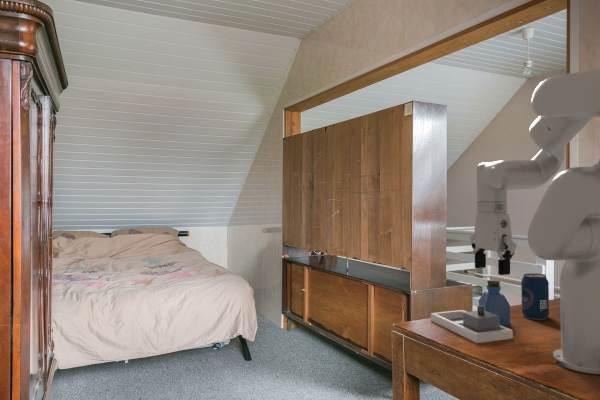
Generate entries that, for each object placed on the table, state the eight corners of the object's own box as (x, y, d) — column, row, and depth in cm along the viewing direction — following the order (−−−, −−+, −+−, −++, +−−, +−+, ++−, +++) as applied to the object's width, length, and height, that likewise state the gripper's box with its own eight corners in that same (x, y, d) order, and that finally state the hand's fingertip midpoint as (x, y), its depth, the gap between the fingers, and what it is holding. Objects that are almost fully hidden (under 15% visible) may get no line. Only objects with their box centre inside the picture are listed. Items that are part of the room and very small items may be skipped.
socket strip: (512, 342, 109) (512, 330, 109) (476, 347, 106) (476, 334, 106) (462, 320, 128) (462, 309, 128) (431, 323, 126) (430, 313, 126)
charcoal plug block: (499, 336, 110) (499, 308, 110) (478, 339, 109) (477, 310, 109) (484, 329, 116) (483, 302, 116) (463, 332, 115) (462, 304, 115)
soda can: (516, 314, 133) (515, 273, 132) (538, 313, 134) (537, 272, 134) (532, 321, 126) (531, 278, 126) (555, 319, 127) (554, 276, 127)
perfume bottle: (502, 322, 126) (501, 279, 125) (510, 329, 119) (509, 283, 119) (479, 322, 126) (478, 279, 126) (486, 329, 120) (485, 283, 120)
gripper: (527, 209, 115) (527, 276, 116) (482, 206, 132) (483, 264, 132) (501, 210, 113) (501, 278, 114) (460, 207, 130) (460, 266, 131)
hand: (491, 271), depth 123 cm, fingers open, 9 cm apart
